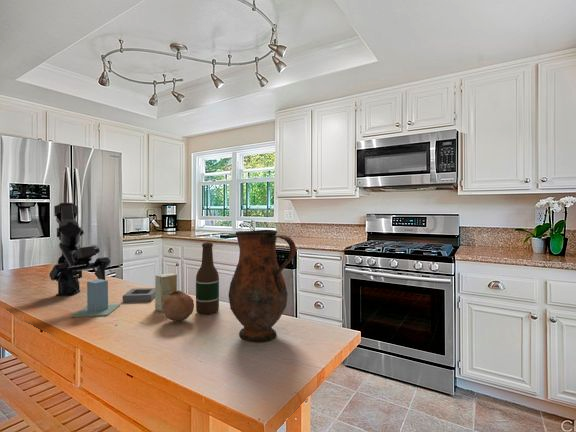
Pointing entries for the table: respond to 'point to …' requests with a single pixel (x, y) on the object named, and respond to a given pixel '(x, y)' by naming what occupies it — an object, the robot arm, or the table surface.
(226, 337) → the table surface
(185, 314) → the onion
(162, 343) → the table surface
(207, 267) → the beer bottle
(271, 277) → the pitcher
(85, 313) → the green mat
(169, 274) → the skincare box
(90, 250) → the robot arm
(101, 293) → the tall square blue prism
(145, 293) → the square socket block
